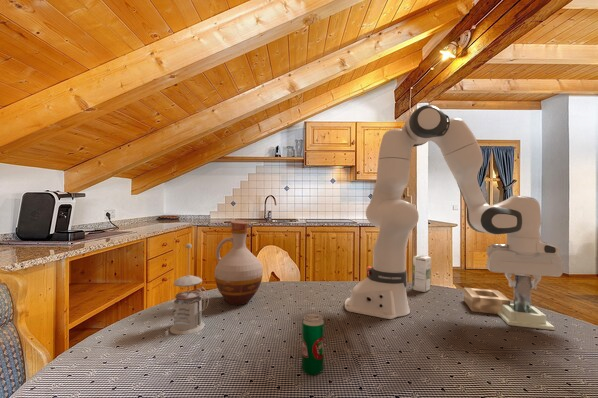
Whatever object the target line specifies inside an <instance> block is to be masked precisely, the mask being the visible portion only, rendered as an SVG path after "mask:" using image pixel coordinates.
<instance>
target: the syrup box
mask: <svg viewBox="0 0 598 398" xmlns="http://www.w3.org/2000/svg"><path fill="white" fill-rule="evenodd" d="M431 276H432V257H431V256H427V255H424V254H417V255H415V256H413V257H412V282H411V283H412V285H411V289H412V290H414V291H418V292H423V293H426V292H429V291H431V282H432V281H431V279H432V277H431Z"/></svg>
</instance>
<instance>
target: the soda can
mask: <svg viewBox="0 0 598 398" xmlns="http://www.w3.org/2000/svg"><path fill="white" fill-rule="evenodd" d="M301 369H302V372H304V373H305V374H307V375H310V376H316V375H317V376H318V375H319V374H322V372H323V371H324V369H325V321H324V317H323V316H322V315H321V314H318V313H306V314H305V315H304V316H303V319H302V320H301Z"/></svg>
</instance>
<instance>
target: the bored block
mask: <svg viewBox="0 0 598 398" xmlns="http://www.w3.org/2000/svg"><path fill="white" fill-rule="evenodd" d="M463 301H464V303H465V304H466V305H467V307H469V309H470V310H471V312H476V313H485V314H486V313H487V314H495V315H498V311H502V304H506V305H508V306H509V307H510V304H511V300H510V298H508V297H507V296H506V295H504V293H502V292H501V291H499V290H497V289H483V288H472V287H463Z"/></svg>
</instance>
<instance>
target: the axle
mask: <svg viewBox="0 0 598 398" xmlns="http://www.w3.org/2000/svg"><path fill="white" fill-rule="evenodd" d="M513 281H514V282H516V287H513V304H514V305H513V310H514V311H515V312H524V313H531V306H532V289H531V282H532V275H526V274H513Z"/></svg>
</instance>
